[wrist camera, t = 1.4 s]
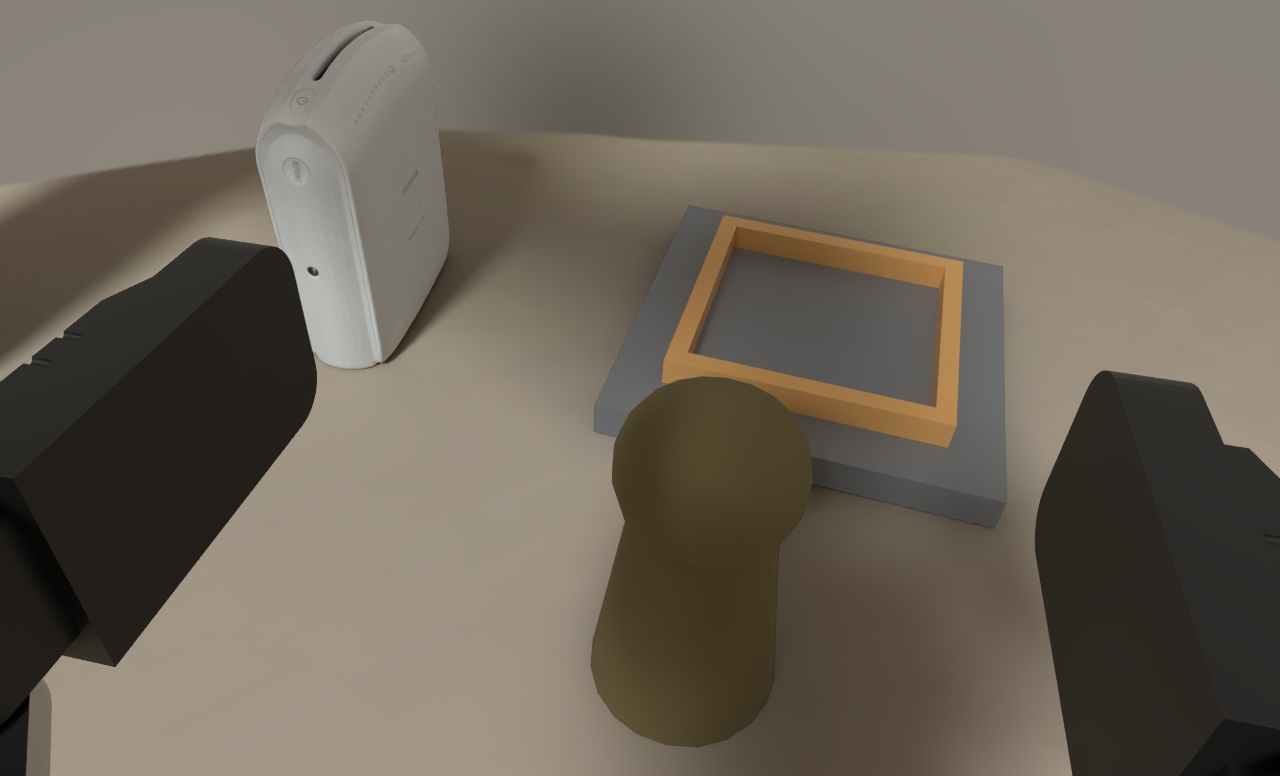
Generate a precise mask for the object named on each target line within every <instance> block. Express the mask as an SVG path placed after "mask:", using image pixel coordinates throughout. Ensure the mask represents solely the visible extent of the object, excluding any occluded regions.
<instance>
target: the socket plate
mask: <svg viewBox="0 0 1280 776" xmlns="http://www.w3.org/2000/svg"><path fill="white" fill-rule="evenodd" d="M700 376H706V377H722V378H730V379H733V380H737V381H741V382H744V383H748V384H751V385H754V386H755V387H757V388H759V389H761V390H763V391H765V392H767V393H769V394H770V395H772V396H774V397H775V398H776V399H777V400H778V401H780V402H781V403H782V404H783V405H784V406H785V407H786V408H787V409H788V410H789V411H790V412H791V413H792V415H793V416H794V418H795V420H796V421H797V423H798V425H799V426H800V428H801V430H802V432H803V433H804V435H805V437H806V439H807V440H808V442H809V448H810V456H811V463H812V474H813V482H812V484H813V485H817V486H821V487H825V488H829V489H833V490H838V491H842V492H846V493H850V494H854V495H858V496H862V497H867V498H871V499H875V500H879V501H883V502H887V503H891V504H896V505H900V506H904V507H908V508H912V509H916V510H920V511H924V512H929V513H933V514H937V515H941V516H945V517H949V518H953V519H958V520H962V521H966V522H970V523H974V524H978V525H982V526H987V527H991V528H994V527H995V525H996V523H997V521H998V519H999V517H1000V515H1001V513H1002V510H1003V508H1004V506H1005V504H1006V448H1005V386H1004V324H1003V266H998V265H993V264H987V263H982V262H977V261H972V260H967V259H962V258H957V257H951V256H946V255H941V254H936V253H931V252H926V251H921V250H915V249H910V248H905V247H900V246H895V245H890V244H884V243H879V242H874V241H869V240H864V239H859V238H854V237H848V236H843V235H838V234H833V233H828V232H823V231H818V230H812V229H807V228H802V227H797V226H792V225H787V224H781V223H776V222H771V221H766V220H761V219H756V218H751V217H745V216H740V215H735V214H730V213H725V212H720V211H715V210H709V209H704V208H699V207H694V206H689V207H688V209H687V211H686V213H685V215H684V217H683V220H682V222H681V224H680V226H679V228H678V230H677V232H676V234H675V236H674V238H673V241H672V243H671V245H670V247H669V249H668V251H667V253H666V255H665V257H664V260H663V262H662V264H661V266H660V268H659V270H658V272H657V274H656V276H655V279H654V281H653V283H652V285H651V287H650V289H649V291H648V293H647V295H646V298H645V300H644V302H643V304H642V306H641V308H640V310H639V312H638V314H637V316H636V319H635V321H634V323H633V325H632V327H631V329H630V331H629V333H628V335H627V338H626V340H625V342H624V344H623V346H622V348H621V350H620V352H619V354H618V357H617V359H616V361H615V363H614V365H613V367H612V369H611V371H610V373H609V375H608V378H607V380H606V382H605V384H604V386H603V388H602V390H601V392H600V394H599V397H598V399H597V401H596V403H595V405H594V432H598V433H602V434H606V435H610V436H614V437H617V436H618V434H619V432H620V430H621V428H622V426H623V424H624V422H625V420H626V419H627V417H628V415H629V413H630V411H632V410H633V409H634V408H635V407H636V406H637V405H638V404H639V403H641V402H642V401H643V400H644V399H645V398H646V397H648V396H649V395H650V394H651V393H652V392H654V391H655V390H656V389H658V388H660V387H662V386H665V385H667V384H669V383H672V382H674V381H677V380H681V379H688V378H694V377H700Z"/></svg>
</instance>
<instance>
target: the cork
mask: <svg viewBox="0 0 1280 776" xmlns="http://www.w3.org/2000/svg"><path fill="white" fill-rule="evenodd" d="M812 482H813V474H812V463H811V456H810V448H809V442H808V440H807V439H806V437H805V435H804V433H803V432H802V430H801V428H800V426H799V425H798V423H797V421H796V420H795V418H794V416H793V415H792V413H791V412H790V411H789V410H788V409H787V408H786V407H785V406H784V405H783V404H782V403H781V402H780V401H778V400H777V399H776V398H775V397H774V396H772V395H770V394H769V393H767V392H765V391H763V390H761V389H759V388H757V387H755V386H754V385H751V384H748V383H744V382H741V381H737V380H733V379H730V378H722V377H706V376H700V377H694V378H688V379H681V380H677V381H674V382H672V383H669V384H667V385H665V386H662V387H660V388H658V389H656V390H655V391H654V392H652V393H651V394H650V395H649V396H648V397H646V398H645V399H644V400H643V401H642V402H641V403H639V404H638V405H637V406H636V407H635V408H634V409H633V410H632V411H630V413H629V415H628V417H627V419H626V420H625V422H624V424H623V426H622V428H621V430H620V432H619V434H618V436H617V439H616V441H615V444H614V453H613V466H612V484H613V487H614V490H615V493H616V496H617V499H618V502H619V505H620V508H621V511H622V514H623V517H624V520H625V523H624V527H623V531H622V535H621V538H620V542H619V546H618V549H617V553H616V557H615V560H614V564H613V568H612V571H611V575H610V579H609V582H608V586H607V590H606V594H605V597H604V601H603V605H602V608H601V612H600V616H599V619H598V623H597V627H596V630H595V634H594V638H593V644H592V656H591V669H592V673H593V677H594V680H595V684H596V688H597V691H598V693H599V695H600V696H601V698H602V699H603V701H604V702H605V704H606V705H607V707H608V708H609V709H610V711H611V712H612V714H613V715H614V716H615V717H616V718H617V719H619V720H620V721H621V722H623V723H624V724H625V725H626V726H628V727H629V728H630V729H632V730H633V731H634V732H635V733H637V734H638V735H641V736H644V737H646V738H649V739H652V740H654V741H657V742H660V743H662V744H665V745H674V746H691V747H699V746H703V745H707V744H711V743H715V742H719V741H723V740H726V739H728V738H730V737H731V736H733V735H734V734H736V733H737V732H739V731H740V730H742V729H743V728H745V727H746V726H748V725H749V724H751V722H752V721H753V720H754V718H755V717H756V716H757V714H758V713H759V712H760V710H761V709H762V708H763V706H764V705H765V704H766V702H767V699H768V696H769V692H770V689H771V685H772V682H773V678H774V659H775V633H776V607H777V581H778V555H779V545H780V544H781V543H782V542H783V540H784V539H785V538H786V537H787V536H788V535H789V533H790V532H791V531H792V530H793V529H794V527H795V526H796V525H797V523H798V522H799V521H800V519H801V518H802V515H803V512H804V509H805V505H806V502H807V499H808V496H809V492H810V489H811V485H812Z"/></svg>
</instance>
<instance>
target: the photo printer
mask: <svg viewBox="0 0 1280 776" xmlns="http://www.w3.org/2000/svg"><path fill="white" fill-rule="evenodd" d="M255 155H256V162H257V167H258V171H259V174H260V178H261V181H262V185H263V189H264V193H265V196H266V200H267V204H268V208H269V212H270V215H271V219H272V223H273V227H274V230H275V234H276V238H277V242H278V245H279V249H281V250H283V251H284V252H285V253H286V255H287V256H288V258H289V259H290V261H291V264H292V267H293V270H294V274H295V278H296V282H297V287H298V291H299V295H300V300H301V304H302V308H303V312H304V317H305V321H306V325H307V330H308V334H309V338H310V343H311V347H312V351H313V352H315V353H316V354H317V356H318V358H319V359H320V360H322V361H323V362H325V363H326V364H329V365H331V366H334V367H338V368H344V369H363V368H368V367H373V366H374V365H376V364H377V362H381V363H382V362H384V361H385V360H387V358H388V357H389V356H390V355H391V354H392V353H393V351H394V350H395V349H396V347H397V346H398V345H399V343H400V341H401V340H402V338H403V337H404V335H405V333H406V332H407V330H408V329H409V327H410V325H411V324H412V322H413V320H414V319H415V317H416V315H417V313H418V312H419V310H420V308H421V306H422V305H423V303H424V301H425V299H426V297H427V296H428V294H429V292H430V290H431V288H432V286H433V284H434V282H435V280H436V278H437V276H438V274H439V272H440V270H441V268H442V266H443V264H444V262H445V260H446V257H447V253H448V248H449V223H448V214H447V204H446V194H445V185H444V176H443V166H442V157H441V148H440V140H439V131H438V121H437V113H436V106H435V95H434V86H433V78H432V71H431V66H430V62H429V59H428V56H427V54H426V52H425V50H424V48H423V47H422V45H421V44H420V42H419V41H418V40H417V38H416V37H415V36H414V35H413V34H412V33H411V32H409V31H408V30H407V29H406V28H404V27H403V26H401V25H399V24H387V25H384V24H381V23H379V22H376V21H361V22H357V23H354V24H350V25H348V26H345V27H343V28H341V29H339V30H337V31H335V32H333V33H332V34H330V35H328V36H327V37H326V38H324V39H323V40H321V41H320V42H319V43H318V44H316V45H315V46H314V47H313V48H312V49H311V50H310V51H309V52H307V53H306V54H305V55H304V56H303V58H302V59H301V60H300V61H299V62H298V63H297V64H296V65H295V67H294V68H293V69H292V70H291V71H290V73H289V74H288V75H287V77H286V78H285V80H284V81H283V83H282V84H281V86H280V87H279V89H278V90H277V92H276V93H275V95H274V97H273V99H272V101H271V103H270V105H269V106H268V108H267V110H266V113H265V115H264V117H263V120H262V123H261V126H260V130H259V133H258V136H257V141H256V148H255Z"/></svg>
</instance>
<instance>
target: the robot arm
mask: <svg viewBox="0 0 1280 776" xmlns="http://www.w3.org/2000/svg"><path fill="white" fill-rule="evenodd" d="M316 386H317V370H316V364H315V360H314V355H313V351H312V347H311V343H310V338H309V334H308V330H307V325H306V321H305V317H304V312H303V308H302V304H301V300H300V295H299V291H298V287H297V282H296V278H295V274H294V270H293V267H292V264H291V261H290V259H289V258H288V256H287V255H286V253H285V252H284V251H283V250H281V249H279V248H278V247H273V246H266V245H259V244H252V243H246V242H239V241H232V240H225V239H218V238H211V237H207V238H202V239H200V240H198V241H196V242H195V243H193V244H192V245H191V246H190V247H189V248H187V249H186V250H185V251H184V252H182V253H181V254H180V255H179V256H178V257H176V258H175V259H174V260H173V261H172V262H170V263H169V264H168V265H167V266H166V267H164V268H163V269H162V270H161V271H159V272H158V273H157V274H156V275H155V276H153V277H151V278H149V279H147V280H145V281H143V282H141V283H138V284H136V285H134V286H132V287H130V288H128V289H126V290H123V291H121V292H119V293H117V294H115V295H113V296H110V297H108V298H106V299H104V300H102V301H101V302H99V303H98V304H97V305H96V306H94V307H93V308H92V309H91V310H89V311H88V312H87V313H86V314H84V315H83V316H82V317H81V318H79V319H78V320H77V321H76V322H74V323H73V324H72V325H71V326H70V327H68V328H67V329H66V330H65V331H64V336H63V338H57V337H56V338H55V339H53V340H52V341H51V342H50V343H48V344H47V345H46V346H45V347H43V348H42V349H41V350H40V351H38V352H37V353H36V354H35V355H33V356H32V362H31V364H30V365H29V364H22V365H21V366H20V367H18V368H17V369H16V370H15V371H13V372H12V373H11V374H10V375H8V376H7V377H6V378H5V379H3V380H2V381H1V382H0V776H50V747H51V711H52V702H51V693H50V691H49V688H48V686H47V684H46V682H45V681H44V679H43V677H44V676H45V675H46V674H47V672H48V671H49V670H50V669H51V668H52V666H53V665H54V664H55V663H56V662H57V660H58V659H59V658H60V657H61V656H62V655H63V656H68V657H72V658H77V659H81V660H86V661H90V662H95V663H99V664H104V665H108V666H113V667H116V666H117V664H118V663H119V662H120V660H121V659H122V658H123V656H124V655H125V654H126V653H127V651H128V650H129V649H130V647H131V646H132V645H133V644H134V642H135V641H136V640H137V638H138V637H139V636H140V635H141V633H142V632H143V631H144V629H145V628H146V627H147V626H148V624H149V623H150V622H151V620H152V619H153V618H154V616H155V615H156V614H157V613H158V611H159V610H160V609H161V607H162V606H163V605H164V604H165V602H166V601H167V600H168V598H169V597H170V596H171V595H172V593H173V592H174V591H175V589H176V588H177V587H178V585H179V584H180V583H181V582H182V580H183V579H184V578H185V576H186V575H187V574H188V573H189V571H190V570H191V569H192V567H193V566H194V565H195V564H196V562H197V561H198V560H199V558H200V557H201V556H202V555H203V553H204V552H205V551H206V549H207V548H208V547H209V545H210V544H211V543H212V542H213V540H214V539H215V538H216V536H217V535H218V534H219V533H220V531H221V530H222V529H223V527H224V526H225V525H226V524H227V522H228V521H229V520H230V518H231V517H232V516H233V514H234V513H235V512H236V511H237V509H238V508H239V507H240V505H241V504H242V503H243V502H244V500H245V499H246V498H247V496H248V495H249V494H250V493H251V491H252V490H253V489H254V487H255V486H256V485H257V484H258V482H259V481H260V480H261V478H262V477H263V476H264V474H265V473H266V472H267V471H268V469H269V468H270V467H271V465H272V464H273V463H274V462H275V460H276V459H277V458H278V456H279V455H280V454H281V453H282V451H283V450H284V449H285V447H286V446H287V445H288V443H289V442H290V441H291V440H292V438H293V437H294V436H295V434H296V433H297V432H298V431H299V429H300V428H301V427H302V425H303V424H304V422H305V421H306V419H307V417H308V415H309V413H310V411H311V408H312V405H313V402H314V398H315V393H316ZM1035 552H1036V559H1037V565H1038V571H1039V577H1040V583H1041V589H1042V595H1043V601H1044V607H1045V613H1046V619H1047V625H1048V631H1049V637H1050V643H1051V649H1052V655H1053V661H1054V667H1055V673H1056V679H1057V685H1058V691H1059V697H1060V703H1061V709H1062V715H1063V721H1064V727H1065V733H1066V739H1067V745H1068V751H1069V757H1070V763H1071V769H1072V775H1073V776H1280V478H1279V477H1278V476H1277V475H1276V474H1275V473H1274V472H1273V471H1272V470H1271V469H1270V468H1269V467H1267V466H1266V465H1265V464H1264V463H1263V462H1262V461H1261V460H1260V459H1259V458H1258V457H1257V456H1256V455H1255V454H1254V453H1253V452H1252V451H1251V450H1250V449H1249V448H1243V447H1236V446H1230V445H1224V443H1223V441H1222V439H1221V436H1220V434H1219V432H1218V430H1217V427H1216V425H1215V423H1214V420H1213V418H1212V416H1211V413H1210V411H1209V409H1208V407H1207V404H1206V402H1205V400H1204V397H1203V395H1202V393H1201V391H1200V390H1199V388H1198V387H1197V386H1196V385H1194V384H1192V383H1188V382H1181V381H1175V380H1168V379H1161V378H1154V377H1147V376H1140V375H1134V374H1127V373H1120V372H1113V371H1105V370H1104V371H1101V372H1100V373H1098V374H1097V375H1096V376H1095V377H1094V379H1093V380H1092V382H1091V383H1090V385H1089V387H1088V389H1087V391H1086V393H1085V395H1084V398H1083V400H1082V402H1081V405H1080V407H1079V409H1078V412H1077V414H1076V416H1075V419H1074V421H1073V423H1072V425H1071V428H1070V430H1069V432H1068V435H1067V437H1066V439H1065V442H1064V444H1063V446H1062V449H1061V451H1060V453H1059V455H1058V458H1057V460H1056V462H1055V465H1054V467H1053V469H1052V472H1051V474H1050V476H1049V479H1048V481H1047V483H1046V485H1045V488H1044V491H1043V493H1042V497H1041V500H1040V504H1039V508H1038V513H1037V520H1036V529H1035Z"/></svg>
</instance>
